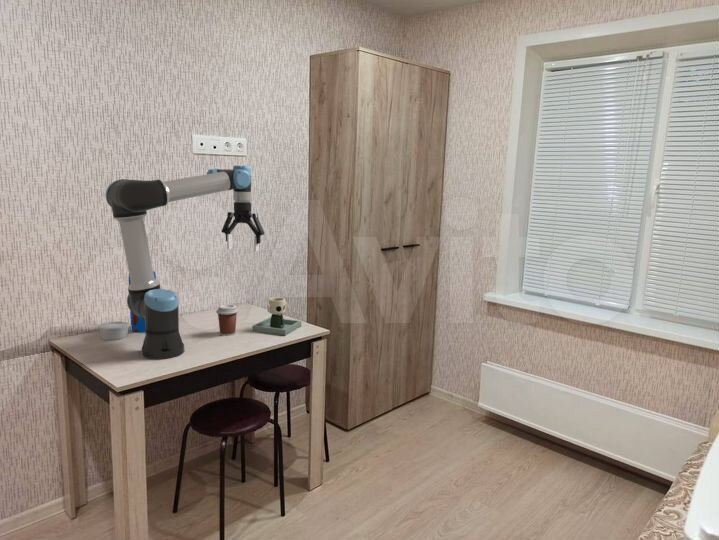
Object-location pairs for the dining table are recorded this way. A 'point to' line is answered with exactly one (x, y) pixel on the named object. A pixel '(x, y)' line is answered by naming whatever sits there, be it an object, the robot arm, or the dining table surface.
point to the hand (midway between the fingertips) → (243, 250)
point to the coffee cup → (227, 319)
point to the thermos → (138, 318)
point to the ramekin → (114, 330)
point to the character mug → (277, 311)
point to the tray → (266, 328)
